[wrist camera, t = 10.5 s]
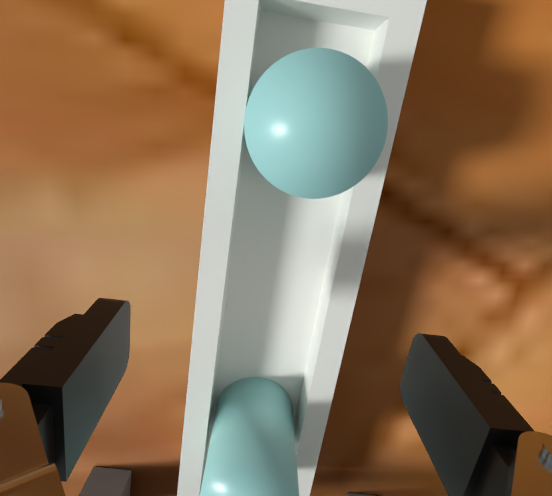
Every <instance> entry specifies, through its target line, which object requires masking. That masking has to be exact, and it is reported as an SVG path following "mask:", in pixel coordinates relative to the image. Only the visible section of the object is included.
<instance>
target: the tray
mask: <svg viewBox="0 0 552 496" xmlns="http://www.w3.org/2000/svg"><path fill="white" fill-rule="evenodd" d="M426 2H427V0H225V5H224V15H223V25H222V36H221V46H220V56H219V67H218V77H217V87H216V98H215V108H214V118H213V129H212V139H211V149H210V160H209V170H208V180H207V191H206V201H205V211H204V222H203V232H202V242H201V253H200V263H199V273H198V284H197V294H196V304H195V315H194V325H193V335H192V346H191V356H190V366H189V377H188V387H187V397H186V408H185V418H184V428H183V439H182V449H181V459H180V470H179V480H178V490H177V496H310V492H311V488H312V483H313V479H314V475H315V471H316V466H317V462H318V458H319V454H320V450H321V445H322V441H323V437H324V433H325V428H326V424H327V420H328V416H329V412H330V407H331V403H332V399H333V395H334V390H335V386H336V382H337V378H338V374H339V369H340V365H341V361H342V357H343V352H344V348H345V344H346V340H347V336H348V331H349V327H350V323H351V319H352V314H353V310H354V306H355V302H356V298H357V293H358V289H359V285H360V281H361V276H362V272H363V268H364V264H365V260H366V255H367V251H368V247H369V243H370V238H371V234H372V230H373V226H374V222H375V217H376V213H377V209H378V205H379V200H380V196H381V192H382V188H383V184H384V179H385V175H386V171H387V167H388V162H389V158H390V154H391V150H392V146H393V141H394V137H395V133H396V129H397V124H398V120H399V116H400V112H401V108H402V103H403V99H404V95H405V91H406V86H407V82H408V78H409V74H410V70H411V65H412V61H413V57H414V53H415V48H416V44H417V40H418V36H419V32H420V27H421V23H422V19H423V15H424V10H425V6H426Z"/></svg>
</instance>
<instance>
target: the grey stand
mask: <svg viewBox="0 0 552 496" xmlns="http://www.w3.org/2000/svg"><path fill="white" fill-rule="evenodd" d="M130 487H131V470H122V469H112V468H102V467H93V469H92V471H91V473H90V475H89V477H88V479H87V481H86V483H85V485H84V487H83V489H82V491H81V493H80V494H79V496H130ZM347 496H374V495H364V494H355V493H347Z"/></svg>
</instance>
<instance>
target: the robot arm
mask: <svg viewBox="0 0 552 496" xmlns="http://www.w3.org/2000/svg"><path fill="white" fill-rule="evenodd" d="M129 350H130V303H129V301H124V300H115V299H106V298H99V299H97V300H96V301H95V303H94V304H93V305H92V306H91V307H90V308H89V309H88V310H87V311H86V313H85V314H84V315H81V314H74V315H72V316H70V317H68V318H66V319H64V320H62V321H60V322H58V323H56V324H55V325H54V326H53V327H52V328H51V329H50V330H49V331H48V332H47V333H46V334H45V337H44V338H43V337H42V338H41V339H40V340H39V341H38V342H37V343H36V344H35V347H34V348H31V349H30V350H29V351H28V352H27V353H26V354H25V355H24V356H23V357H22V358H21V359H20V360H19V361H18V363H17V364H16V365H15V366H14V367H13V368H12V369H11V370H10V371H9V372H8V373H7V374H6V375H5V376H4V377H3V378H2V379H1V380H0V496H65V493H64V490H63V486H62V483H61V481H67V479H68V477H69V476H70V474H71V472H72V470H73V468H74V466H75V464H76V462H77V461H78V459H79V457H80V455H81V453H82V451H83V449H84V448H85V446H86V444H87V442H88V440H89V438H90V436H91V435H92V433H93V431H94V429H95V427H96V425H97V423H98V422H99V420H100V418H101V416H102V414H103V412H104V410H105V408H106V407H107V405H108V403H109V401H110V399H111V397H112V395H113V394H114V392H115V390H116V388H117V386H118V384H119V382H120V381H121V379H122V377H123V375H124V373H125V370H126V367H127V363H128V359H129ZM400 390H401V397H402V401H403V403H404V405H405V407H406V409H407V411H408V413H409V416H410V418H411V420H412V422H413V424H414V426H415V428H416V430H417V432H418V434H419V436H420V438H421V440H422V442H423V444H424V446H425V448H426V450H427V452H428V454H429V456H430V458H431V460H432V463H433V465H434V467H435V469H436V471H437V473H438V475H439V477H440V479H441V481H442V483H443V485H444V487H445V489H446V491H447V493H448V495H449V496H552V436H551V435H548V434H545V433H541V432H535V431H534V430H533V429H532V428H531V427H530V425H529V424H528V423H527V422H526V421H525V420H524V418H523V417H522V416H521V415H520V414H519V413H518V411H517V410H516V409H515V408H514V407H513V406H512V404H511V403H510V402H509V401H508V400H507V399H506V397H505V396H504V395H501V392H500V391H499V389H498V388H497V387H496V386H495V385H494V384H492V383H491V380H490V379H489V378H488V377H487V375H486V374H485V373H484V372H483V371H482V370H481V368H479V367H478V366H477V365H475V364H474V363H473V362H471V361H470V360H468V359H467V358H466V357H464V356H462V355H461V354H460V353H459V352H458V351H457V349H456V348H455V347H454V346H453V344H452V343H451V342H450V341H449V340H448V339H447V338H446V337H445V336H437V335H428V334H416V335H415V337H414V338H413V341H412V344H411V347H410V351H409V354H408V358H407V361H406V365H405V368H404V371H403V375H402V378H401V385H400Z"/></svg>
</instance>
